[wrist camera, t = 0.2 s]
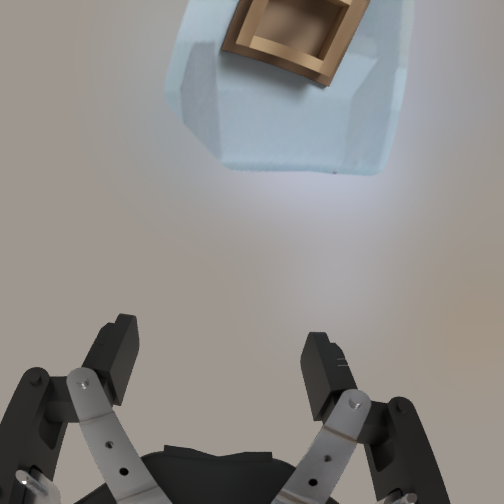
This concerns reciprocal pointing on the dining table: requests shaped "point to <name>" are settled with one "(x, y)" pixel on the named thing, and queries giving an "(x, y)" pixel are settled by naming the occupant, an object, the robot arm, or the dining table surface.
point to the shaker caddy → (296, 33)
